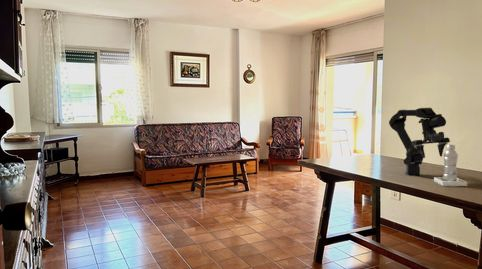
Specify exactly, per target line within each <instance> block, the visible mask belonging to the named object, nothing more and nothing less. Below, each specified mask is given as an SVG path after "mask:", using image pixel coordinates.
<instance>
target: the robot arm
mask: <svg viewBox="0 0 482 269" xmlns="http://www.w3.org/2000/svg"><path fill="white" fill-rule="evenodd" d="M407 117H416V118H418V119H419V121H418V124H421V129H422V130H421V131H422V132H421V135H423V139H414V140H412V139H411V138H410V136H409V134H408V133H407V130H406V128H405V127H406V121H407ZM388 124H389V127H391V130H394V132H396V134H397V135H398V137H399V139H400V141H401V143H402V144H403V147H404V149H405V150H406V152H405V156H406V157H405V158H404V159H403V164H404V165H406V166H405V168H406V170H405V174H406V175H407V176H421V166H420V165H422V164H423V160H424V159H425V158H426V154H425V149H424V147H425V145H427V144H437V145H436V146H437V150H438V153H439V156H440V157H442V156H443V155H444V149H445V147H446V146H447V145H449V144H448V143H450V142H451V140H450V137H445V133H444V131H439V132H437V130H435V129H436V128H441V127H445V126H446V125H447V120H446V119H445V117H444V116H443V115H442V113H436V112H435V111H434V109H433V108H432V107H420V108H416V109H398V110H397V112H396V113H395V114H394V115H392V116H391V118H390V120H389V121H388Z"/></svg>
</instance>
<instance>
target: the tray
mask: <svg viewBox="0 0 482 269" xmlns="http://www.w3.org/2000/svg"><path fill="white" fill-rule="evenodd" d="M442 177H443V176H442ZM442 177H440V176H439V177H435V176H434V177H433V178H434V179H433V182H434V183H435V184H436V185H439V186H442V187H457V186H458V187H459V186H466V188H467V187H468V182H467V181H466V180H464V179H461V178H459V177H457V181H456V182H449V181H443V178H442Z"/></svg>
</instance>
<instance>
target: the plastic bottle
mask: <svg viewBox="0 0 482 269" xmlns="http://www.w3.org/2000/svg"><path fill="white" fill-rule="evenodd" d="M458 158H459V154H458V153H457V151H456V145H455V144H446V150H445V151H444V152H443V161H444V162H443V164H444V166H443V167H444V168H443V174H442V178H443V181H449V182H456V181H457V178H458V175H457V162H458Z"/></svg>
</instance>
